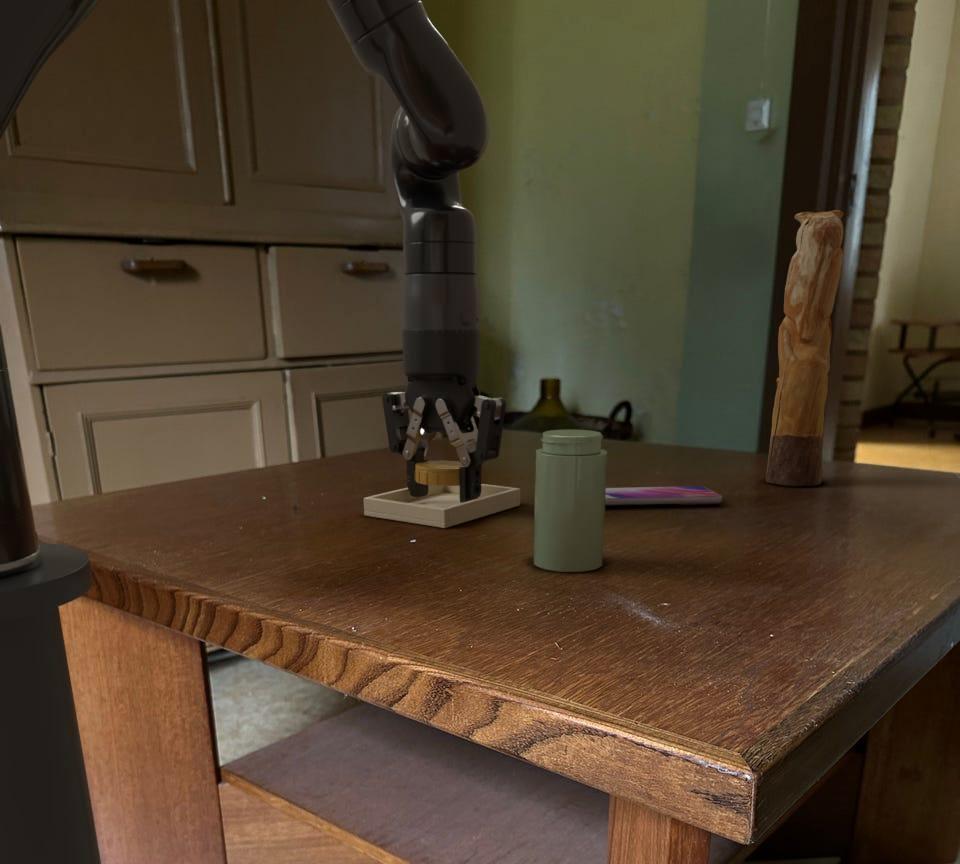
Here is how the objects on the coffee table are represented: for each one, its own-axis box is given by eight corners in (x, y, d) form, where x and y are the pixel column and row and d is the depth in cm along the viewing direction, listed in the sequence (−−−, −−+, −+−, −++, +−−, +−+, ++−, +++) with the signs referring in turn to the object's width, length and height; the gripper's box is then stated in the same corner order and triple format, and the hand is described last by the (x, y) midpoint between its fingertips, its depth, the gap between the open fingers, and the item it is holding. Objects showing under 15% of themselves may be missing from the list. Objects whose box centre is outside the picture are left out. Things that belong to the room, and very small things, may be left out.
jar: (581, 576, 70) (586, 439, 67) (520, 565, 73) (522, 434, 70) (614, 560, 75) (621, 431, 71) (555, 551, 78) (559, 427, 74)
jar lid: (405, 483, 91) (404, 466, 91) (430, 475, 97) (430, 459, 96) (458, 488, 89) (458, 470, 89) (481, 479, 94) (482, 463, 94)
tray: (444, 528, 86) (444, 509, 85) (364, 515, 92) (363, 497, 91) (520, 505, 96) (520, 488, 96) (443, 495, 102) (443, 479, 101)
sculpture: (813, 474, 114) (845, 211, 104) (828, 488, 105) (864, 201, 95) (759, 473, 115) (785, 212, 105) (768, 486, 106) (798, 203, 96)
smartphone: (570, 488, 101) (702, 485, 102) (570, 496, 101) (702, 493, 102) (582, 499, 94) (724, 496, 95) (582, 507, 94) (724, 504, 95)
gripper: (525, 325, 87) (522, 501, 92) (408, 324, 95) (412, 486, 100) (479, 326, 81) (479, 513, 87) (359, 325, 89) (366, 497, 94)
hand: (443, 498), depth 93 cm, fingers closed on jar lid, 5 cm apart
